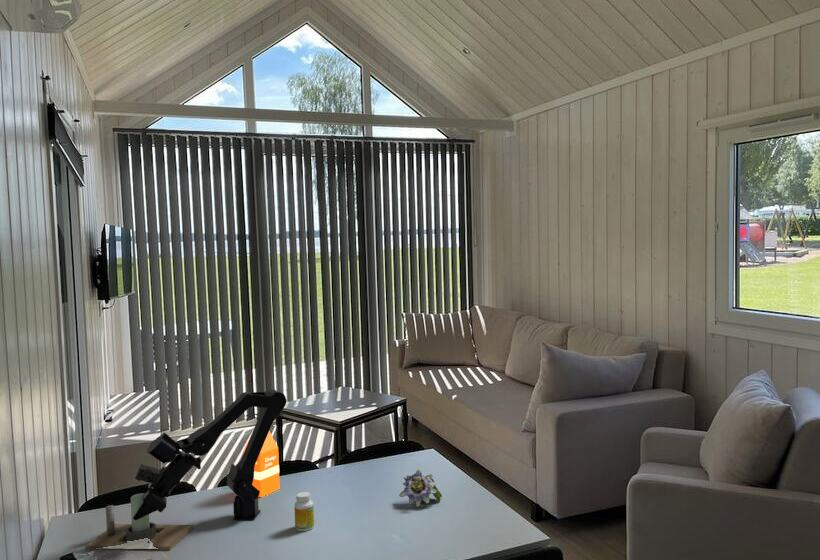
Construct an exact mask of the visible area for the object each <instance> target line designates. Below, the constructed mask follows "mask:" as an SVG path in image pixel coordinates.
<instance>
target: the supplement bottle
mask: <svg viewBox="0 0 820 560" xmlns="http://www.w3.org/2000/svg"><path fill="white" fill-rule="evenodd" d="M295 496H296V498H295V499H296V502H294V505H293V506H294V508H293V509H294V527H295V530H296V531H298V532H307V531H311V530H313V528H314V527H315V519H314V518H315V517H314V516H315V515H314V514H315V511H314V510H315V509H314V502H313V500H312V499H311V493H310V492H307V491H303V492H299V493H296V495H295Z"/></svg>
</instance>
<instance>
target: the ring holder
mask: <svg viewBox="0 0 820 560" xmlns="http://www.w3.org/2000/svg"><path fill="white" fill-rule="evenodd" d="M114 508H115V507H114V505H113V504H111V505H107V506H105V516H106V517H105V519H106V530H105V531H103V532H102V533H101V534H100V535H98V536H97V537H95V538H94V539H93V540H92V541H90V542H89V543H87V544H86V546H85V549H86V550H97V549H96V548H103V547H108V546H116V545H121V544H124V543H127V541H134V540H139V539H144V538H148V539H150V541H151V542H152V543H153V546H154V547H156V548H158V549H160V550H159V551H172V549H173V548H174V547H175V546H176V545H177V544H178V543H180V542H181V540H183V539H184V537H186V536H187V535H188V534H189V533H190V532H191V531H192V530H193V529H194V525H193V524H156V523H155V522H152V521H150V530H147V531H145V532H139V533H132V523H131V524H130V523H129V524H128V523H127V524H126V523H119V524H117V523H115V510H114ZM157 532H158V533H157ZM125 540H126V541H125Z"/></svg>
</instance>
